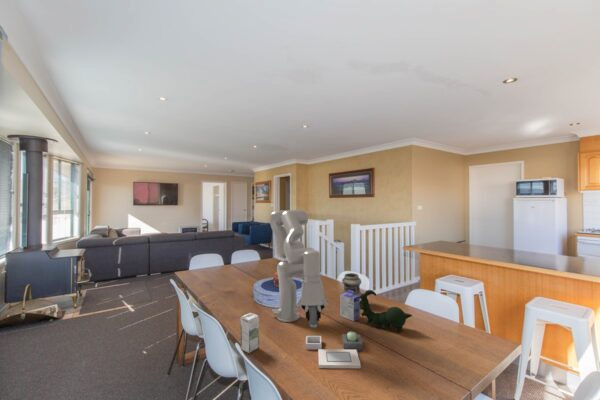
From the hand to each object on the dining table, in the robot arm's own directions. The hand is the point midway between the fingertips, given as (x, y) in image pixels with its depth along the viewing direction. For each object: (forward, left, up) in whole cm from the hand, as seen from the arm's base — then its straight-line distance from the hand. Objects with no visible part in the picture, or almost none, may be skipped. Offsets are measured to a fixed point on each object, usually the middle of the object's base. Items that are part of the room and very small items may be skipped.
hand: (313, 319), depth 121 cm
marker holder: (0, 0, -12) cm, 12 cm away
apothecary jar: (+24, +49, -12) cm, 56 cm away
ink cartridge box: (+20, +29, -12) cm, 37 cm away
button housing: (+17, 0, -12) cm, 21 cm away
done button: (+17, 0, -10) cm, 20 cm away
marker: (0, 0, -3) cm, 3 cm away
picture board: (+10, -11, -12) cm, 19 cm away
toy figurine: (+36, +17, -12) cm, 42 cm away
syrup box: (-28, -3, -12) cm, 31 cm away
